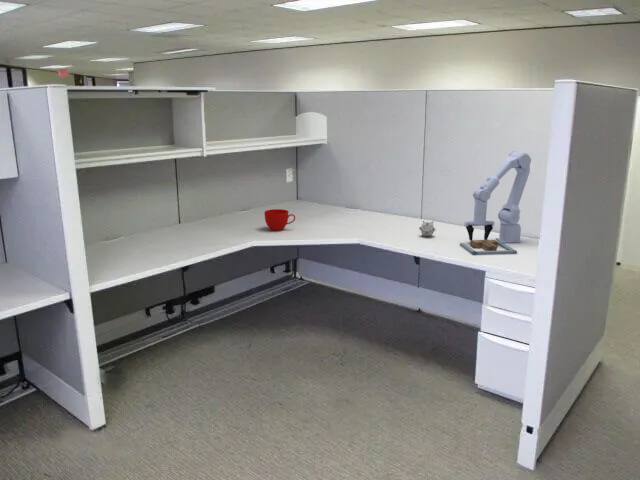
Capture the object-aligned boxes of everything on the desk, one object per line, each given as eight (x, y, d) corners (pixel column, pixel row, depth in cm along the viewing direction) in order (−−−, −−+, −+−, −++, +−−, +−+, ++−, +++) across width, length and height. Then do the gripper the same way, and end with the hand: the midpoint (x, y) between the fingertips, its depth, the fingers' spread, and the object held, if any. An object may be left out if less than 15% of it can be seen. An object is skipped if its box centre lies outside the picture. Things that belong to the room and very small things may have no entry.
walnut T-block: (493, 245, 264) (494, 239, 263) (504, 252, 252) (505, 246, 251) (470, 246, 262) (470, 240, 262) (479, 253, 251) (480, 246, 250)
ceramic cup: (292, 233, 288) (292, 214, 285) (261, 231, 291) (261, 213, 288) (298, 227, 300) (298, 210, 297) (268, 226, 303) (268, 208, 301)
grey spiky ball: (429, 242, 283) (440, 227, 283) (428, 240, 275) (440, 224, 274) (415, 233, 286) (426, 217, 285) (413, 230, 277) (425, 214, 277)
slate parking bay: (501, 244, 266) (501, 241, 266) (516, 253, 249) (517, 251, 249) (459, 245, 264) (459, 243, 263) (472, 255, 247) (472, 252, 247)
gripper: (491, 211, 269) (488, 237, 272) (462, 211, 267) (461, 238, 271) (497, 213, 262) (494, 241, 265) (468, 214, 260) (466, 242, 264)
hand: (478, 240), depth 267 cm, fingers open, 7 cm apart
